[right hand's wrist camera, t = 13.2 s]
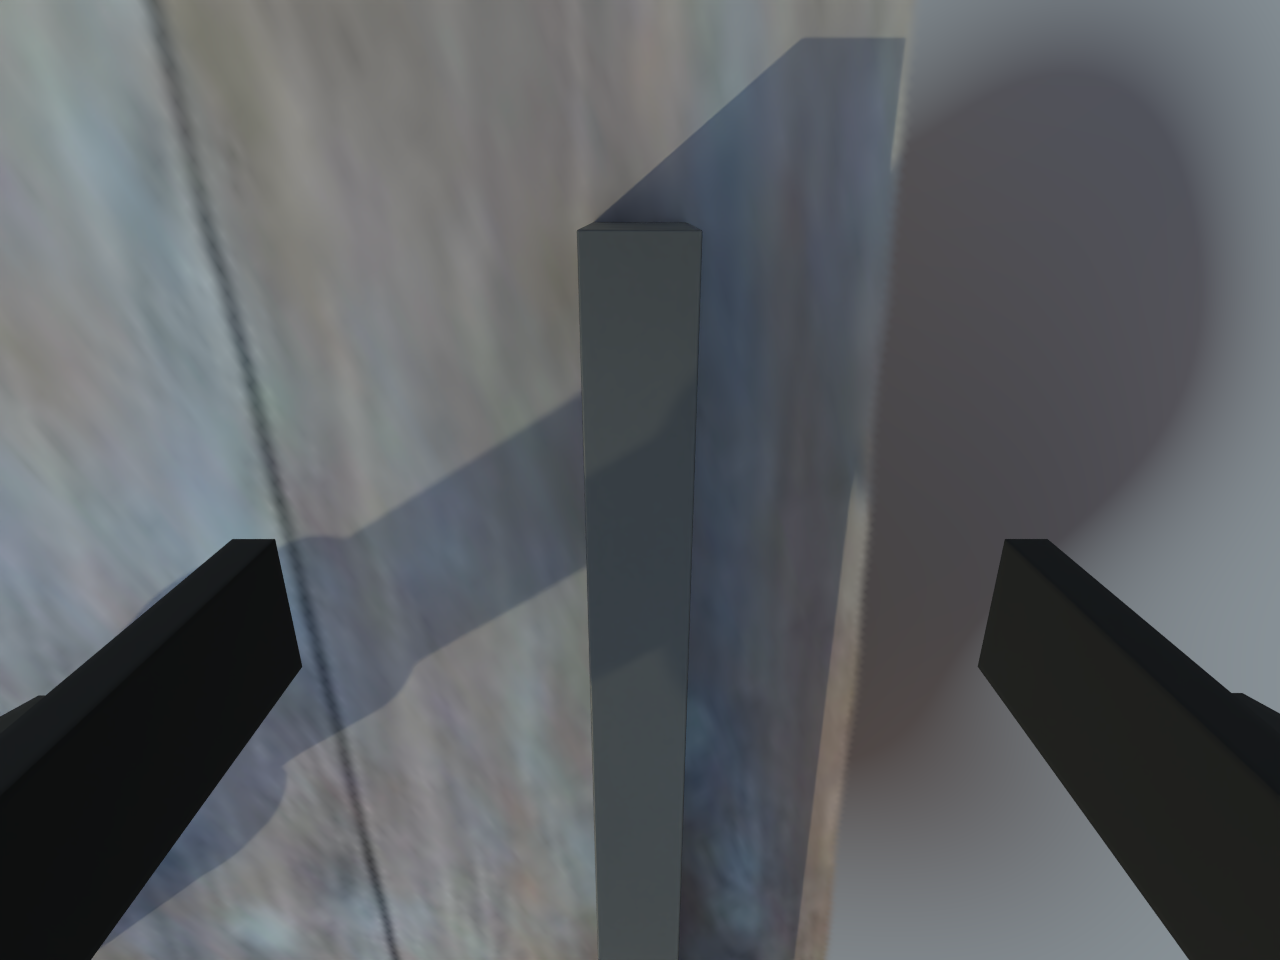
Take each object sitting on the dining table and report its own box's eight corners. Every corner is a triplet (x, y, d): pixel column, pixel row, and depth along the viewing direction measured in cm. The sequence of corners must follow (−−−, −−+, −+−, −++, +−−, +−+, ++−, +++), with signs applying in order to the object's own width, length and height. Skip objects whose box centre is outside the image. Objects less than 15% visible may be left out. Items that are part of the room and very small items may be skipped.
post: (592, 222, 33) (576, 229, 25) (687, 222, 33) (702, 230, 25) (613, 1197, 64) (609, 1339, 56) (662, 1197, 64) (666, 1339, 56)
